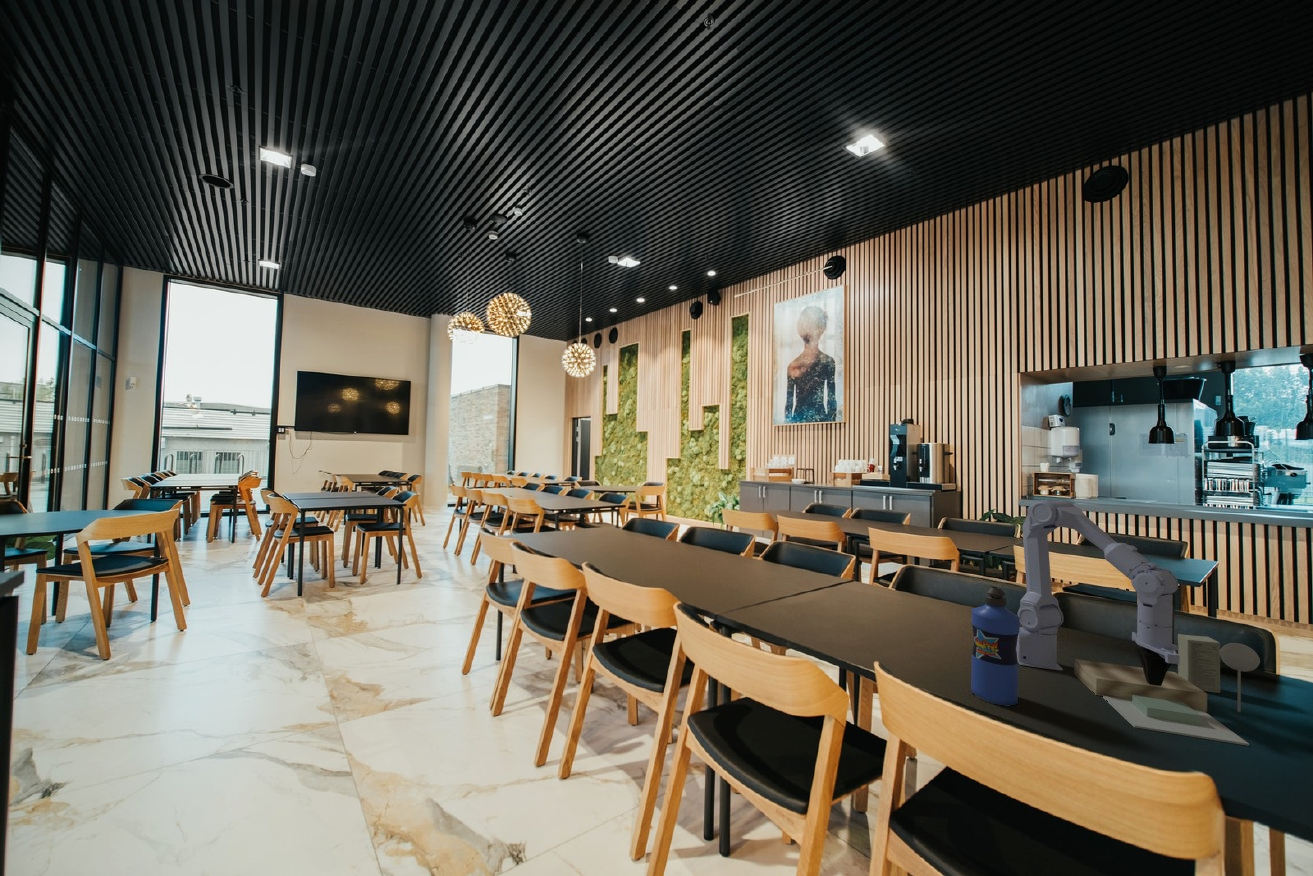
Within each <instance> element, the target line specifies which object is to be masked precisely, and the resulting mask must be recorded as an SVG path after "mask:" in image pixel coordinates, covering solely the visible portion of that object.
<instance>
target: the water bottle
mask: <svg viewBox="0 0 1313 876" xmlns="http://www.w3.org/2000/svg"><path fill="white" fill-rule="evenodd" d="M985 593H986V594H985V595H984V603H985V604H984V605H981V606H978V607H974V608H971V618H970V619H971V620H970V622H971V623H970V624H971V626H972V627H971V628H972V635H973V646H972V652H971V666H970V667H971V669H970V670H971V671H970V672H971V676H970V678H971V680H970V682H971V683H970V684H971V686H970V692H971V691H972V692H973V693H974V694H975V695H976V696H979V697H980V698H982V699H984V700H987V701H989V702H993V703H995V704H999V705H1015V704H1018V702H1019V701H1018V699H1019V663H1018V660H1017V653H1016V646H1017V640H1018V633H1019V627H1021V626H1020V625H1021V623H1020V617H1019V616H1018V614H1016V613H1014V612H1013V611H1010V610H1009V609H1008V608H1007V598H1006V597H1005V595H1006V593H1005V592H1004V591H1003V589H1002V588H1001V587H998V586H990V587H989V588H988V589H986V590H985ZM999 705H998V706H999ZM1015 706H1016V705H1015Z"/></svg>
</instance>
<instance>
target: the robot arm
mask: <svg viewBox="0 0 1313 876" xmlns="http://www.w3.org/2000/svg"><path fill="white" fill-rule="evenodd" d="M1026 509H1027V515H1026V518H1025V520H1024V522H1023V524H1022V540H1023V541H1022V542H1023V554H1024V555H1023V557H1024V568H1025V569H1024V570H1025V583H1026V584H1025V585H1026V587H1025V588H1026V593H1025V594H1024V595H1023V596H1022V598H1021V599H1020V601H1019V602H1020V603H1019V605H1020V606H1019V608H1018V611H1017V616H1019V617H1020V625H1022V626H1020V627H1019V633H1018V640H1017V646H1016V653H1017V660H1018V665H1021V666H1026V667H1032V668H1033V667H1034V668H1040V669H1046V670H1055V671H1059V672H1060V671H1061V672H1063V671H1064V669H1063V668H1062V667H1061V665H1060V664H1058V663H1057V662H1058V660H1057V657H1058V656H1057V655H1058V654H1057V652H1058V651H1057V650H1058V628H1059V627H1060V626H1062V624H1063V623H1064V614H1063V612H1062V610H1061V608H1060V606H1059V605H1060V604H1059V603H1060V602H1059V600H1058V599H1057V597H1055V596H1054V595H1053V591H1052V590H1053V589H1052V579H1051V577H1052V575H1051V566H1050V550H1049V538H1048V537H1049V534H1051V533H1052V532H1054V531H1055V530H1057V529H1058V528H1064V529H1065V528H1067V529H1072V530H1074V531H1075V532H1077V533H1078V534H1080V535H1081V536H1083V538H1085V539H1086V540H1088V542H1090V543H1092V544H1094V546H1096V547H1097V548H1099V549H1100V550H1101V551H1102V552H1103V553H1104V559H1105V560H1106V561H1107V562H1108V563H1109V564H1110V565H1112V566H1113V567H1114V568H1115V569H1117V570H1118V571H1119V572H1120V573H1121V574H1122V575H1124V577H1126V578H1127V579H1129V580H1130V582H1131V586H1132V588H1133V589H1134V591H1135V592H1136V594H1137V615H1136V616H1137V618H1136V619H1137V622H1136V625H1137V628H1136V630H1137V632H1136V631H1132V632H1131V640H1132V641H1133V642H1135V643H1136V644H1137V645H1138V646H1139V647H1135V648H1134V652H1135V654H1136V655H1137V657H1138V659H1139V661H1140V664H1141V668H1143V671H1144V674H1145V678H1146V681H1147V683H1149V684H1150V685H1157V686H1161V685H1162V683H1163V680H1164V677H1165V675H1166V672H1167V671H1169V669H1170V667H1171V666H1172V665H1178V664H1179V655H1178V652H1177V651H1178V650H1179V647H1178V644H1177V645H1176V644H1175V643H1174V644H1172V611H1173V606H1174V605H1173V594H1174V593H1175V592H1177V590H1178V589H1179V581H1178V579H1177V577H1176V576H1175V575H1174V574H1173V573H1172V571H1170V570H1169V569H1167V568H1163V567H1158V564H1156V563H1155V562H1154V561H1153V562H1151V561H1149V560H1148V559H1147V558H1146V557H1145V556H1144V555H1142V554H1141V553H1140V552H1138V548H1137V547H1136V546H1134V545H1133V544H1132V545H1131V544H1130V545H1129V544H1128V543H1124V542H1117V541H1116V540H1114V539H1113V538H1112V537H1111V536H1110V535H1108V534H1107V533H1106V531H1104V530H1103V529H1102V528H1100V526H1098V525H1097V524H1096V523H1094V522H1093V520H1092V519H1090V518H1089V517H1088V516H1087V515H1086V514H1085V513H1084V511H1083V510H1082V509H1081V508H1079V507H1078V506H1076V505H1075V504H1074V503H1072V502H1071V501H1069V500H1066V499H1065V500H1064V499H1059V500H1037V501H1035V502H1034V503H1032V504H1031V505H1029V507H1027V508H1026ZM1169 594H1170V595H1169ZM1163 595H1164V596H1163ZM1172 605H1173V606H1172ZM1140 646H1142V648H1140Z"/></svg>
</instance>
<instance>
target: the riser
mask: <svg viewBox="0 0 1313 876" xmlns="http://www.w3.org/2000/svg"><path fill="white" fill-rule="evenodd" d="M1075 675H1076V676H1075ZM1074 676H1075V677H1076V678H1077V679H1078V680H1079V681H1080V682H1082V683H1083V685H1085V686H1086V688H1088V689H1089V690H1090V691H1091V692H1092V691H1093V692H1094V693H1095V694H1094V693H1093V692H1092V693H1093V694H1094V695H1095V696H1096V695H1098V696H1097V697H1102V695H1103V696H1109V697H1116V698H1123V699H1129V700H1132V695H1136V696H1142V697H1149V698H1156V699H1163V700H1170V701H1177V702H1184V703H1185V704H1186V705H1188V706H1189V707H1190V708H1192V709H1197V710H1203V711H1204V712H1206V713H1207V712H1208V693H1207V692H1206V691H1202V690H1201V689H1199V688H1198V687H1196V686H1195V685H1193V684H1192V683H1190V682H1189V681H1187V680H1186V679H1184V678H1183V677H1181V676H1180V675H1178V672H1175V671H1169V670H1168V671H1167V672H1166V675H1165V677H1164V680H1163V683H1162V685H1161V686H1157V685H1150V684H1149V683H1147V681H1146V678H1145V674H1144V671H1143V667H1139V666H1133V665H1124V664H1116V663H1107V662H1102V661H1091V660H1084V659H1078V658H1074Z"/></svg>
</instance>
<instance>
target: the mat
mask: <svg viewBox="0 0 1313 876" xmlns="http://www.w3.org/2000/svg"><path fill="white" fill-rule="evenodd" d="M1102 696H1103V695H1102ZM1102 696H1101V697H1102ZM1102 698H1103V699H1104V700H1105V701H1106V700H1107V701H1108V702H1107V701H1106V702H1107V703H1108V704H1109V705H1110V706H1112V708H1113V709H1114V710H1115V711H1116V712H1118V714H1120V716H1121V717H1123V718H1124V719H1125V720H1126V721H1127V722H1128V723H1129V724H1130V725H1132V727H1133V728H1136V729H1142V730H1149V731H1153V732H1154V731H1155V732H1161V733H1166V734H1167V733H1168V734H1172V735H1179V736H1185V737H1192V738H1196V739H1197V738H1198V739H1203V740H1205V739H1206V740H1210V741H1215V742H1221V743H1222V742H1223V743H1229V744H1234V745H1242V746H1247V747H1248V746H1249V747H1250V743H1249V742H1247V741H1246V740H1245V739H1244V738H1242V737H1241V736H1239V735H1238V734H1236V733H1235V732H1234V731H1232V730H1231V729H1230V728H1228V727H1226V726H1225V725H1224V724H1222V723H1221V722H1220V721H1218V720H1217V719H1215V718H1214V717H1213V716H1211V715H1210V714H1209V713H1207V712H1204V711H1203V710H1197V709H1193V710H1195V711H1196V712H1197V713H1199V714H1200V715H1201V725H1196V724H1190V723H1183V722H1177V721H1171V720H1164V719H1158V718H1151V717H1147V716H1146V715H1144V714H1143V713H1142V712H1141V711H1140V710H1139V709H1138V708H1136V707H1135V706H1134V705H1133V704H1132V700H1129V699H1123V698H1116V697H1109V696H1103V697H1102Z"/></svg>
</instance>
